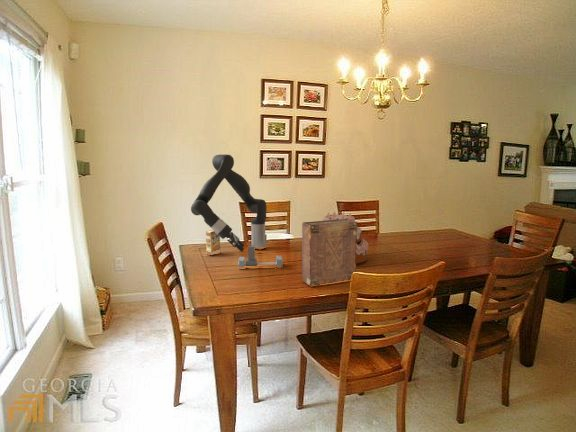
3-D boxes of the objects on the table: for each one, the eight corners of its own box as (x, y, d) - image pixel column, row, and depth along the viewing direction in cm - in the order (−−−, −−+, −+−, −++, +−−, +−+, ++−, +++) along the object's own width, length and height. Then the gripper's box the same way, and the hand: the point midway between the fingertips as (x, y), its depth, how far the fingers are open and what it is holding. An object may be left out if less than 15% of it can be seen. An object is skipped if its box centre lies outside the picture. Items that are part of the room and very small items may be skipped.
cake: (367, 269, 203) (369, 219, 198) (305, 265, 210) (305, 217, 205) (367, 252, 237) (369, 209, 232) (313, 249, 244) (313, 208, 239)
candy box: (211, 256, 228) (210, 232, 225) (206, 255, 230) (205, 231, 227) (220, 253, 235) (220, 229, 233) (215, 252, 238) (214, 228, 235)
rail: (238, 269, 201) (237, 261, 201) (238, 265, 209) (238, 256, 208) (283, 268, 204) (283, 259, 203) (282, 264, 212) (282, 255, 211)
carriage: (246, 266, 203) (245, 247, 201) (246, 263, 208) (245, 245, 207) (257, 266, 203) (256, 247, 201) (256, 263, 209) (256, 244, 207)
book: (345, 275, 192) (347, 218, 187) (355, 280, 184) (357, 221, 179) (301, 282, 182) (302, 222, 178) (310, 288, 174) (310, 225, 169)
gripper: (225, 226, 194) (247, 246, 197) (227, 221, 208) (247, 240, 211) (215, 236, 194) (237, 256, 197) (217, 230, 208) (238, 249, 211)
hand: (243, 248), depth 204 cm, fingers open, 8 cm apart
